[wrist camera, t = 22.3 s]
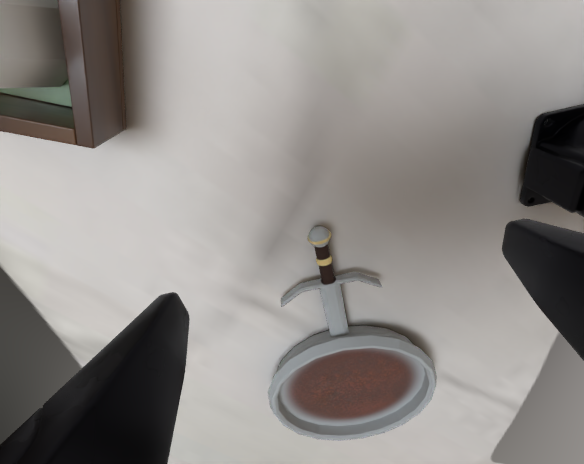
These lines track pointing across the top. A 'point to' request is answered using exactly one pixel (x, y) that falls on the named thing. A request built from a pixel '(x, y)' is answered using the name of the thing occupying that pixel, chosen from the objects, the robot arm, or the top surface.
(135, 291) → the top surface
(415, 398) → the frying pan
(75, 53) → the divided wooden tray
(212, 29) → the top surface
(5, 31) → the pepper shaker
